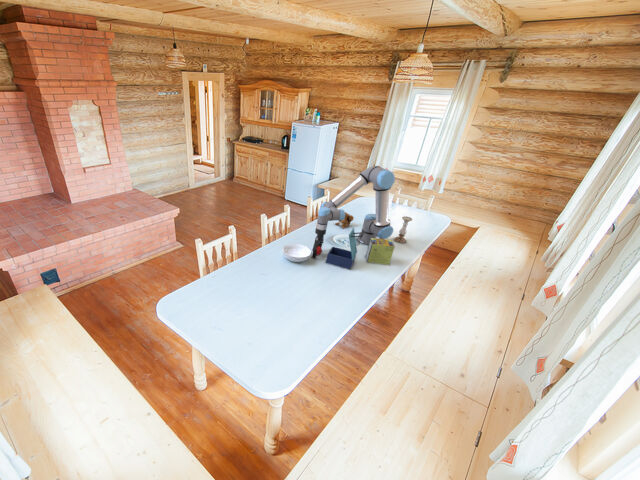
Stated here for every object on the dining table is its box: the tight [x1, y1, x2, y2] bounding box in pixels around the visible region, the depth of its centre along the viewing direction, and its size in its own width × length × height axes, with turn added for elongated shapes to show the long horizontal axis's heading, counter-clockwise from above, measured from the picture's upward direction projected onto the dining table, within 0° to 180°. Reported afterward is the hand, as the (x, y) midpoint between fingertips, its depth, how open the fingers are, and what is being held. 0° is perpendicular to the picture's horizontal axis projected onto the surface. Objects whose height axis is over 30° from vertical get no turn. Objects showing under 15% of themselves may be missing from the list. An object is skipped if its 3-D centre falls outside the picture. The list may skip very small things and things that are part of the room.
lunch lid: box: [348, 227, 365, 260], centre depth 218 cm, size 18×13×8 cm
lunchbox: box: [325, 246, 357, 270], centre depth 229 cm, size 18×13×8 cm
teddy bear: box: [335, 211, 355, 229], centre depth 284 cm, size 10×14×13 cm
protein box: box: [365, 237, 396, 266], centre depth 231 cm, size 10×15×16 cm
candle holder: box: [394, 215, 413, 244], centre depth 259 cm, size 9×9×20 cm
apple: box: [316, 246, 323, 256], centre depth 238 cm, size 7×7×8 cm
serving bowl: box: [281, 243, 312, 263], centre depth 233 cm, size 21×21×7 cm
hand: (316, 254), depth 240 cm, fingers open, 12 cm apart
